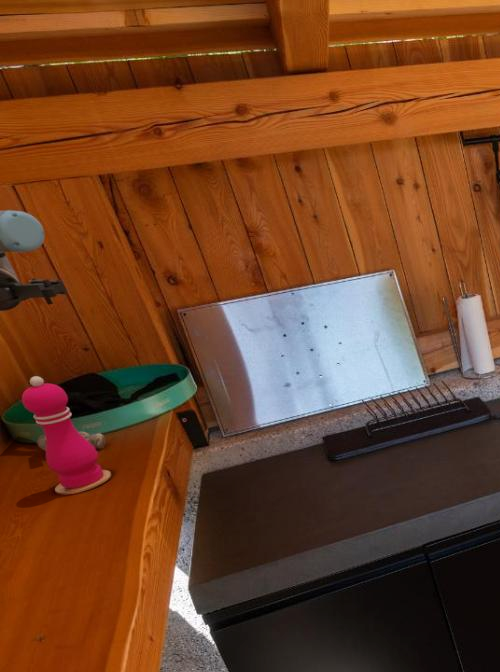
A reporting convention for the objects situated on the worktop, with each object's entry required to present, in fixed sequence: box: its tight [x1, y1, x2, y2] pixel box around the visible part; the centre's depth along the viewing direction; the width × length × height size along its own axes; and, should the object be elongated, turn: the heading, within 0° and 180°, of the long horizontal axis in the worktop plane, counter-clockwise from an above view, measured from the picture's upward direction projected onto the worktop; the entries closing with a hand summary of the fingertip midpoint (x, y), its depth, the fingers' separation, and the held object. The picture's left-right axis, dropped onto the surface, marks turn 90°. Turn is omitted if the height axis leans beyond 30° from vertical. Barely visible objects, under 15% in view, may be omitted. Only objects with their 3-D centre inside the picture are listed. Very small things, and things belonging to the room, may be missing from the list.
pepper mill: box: [21, 375, 103, 488], centre depth 133 cm, size 7×7×20 cm
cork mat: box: [54, 469, 112, 496], centre depth 138 cm, size 8×8×1 cm
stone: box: [37, 430, 106, 452], centre depth 149 cm, size 10×5×8 cm
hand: (0, 306), depth 135 cm, fingers open, 13 cm apart
